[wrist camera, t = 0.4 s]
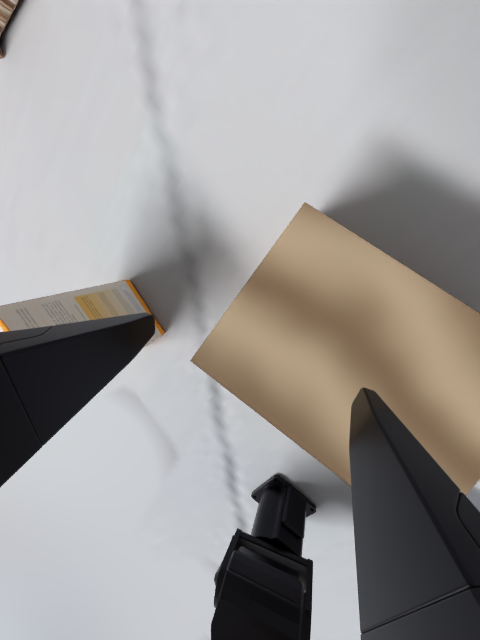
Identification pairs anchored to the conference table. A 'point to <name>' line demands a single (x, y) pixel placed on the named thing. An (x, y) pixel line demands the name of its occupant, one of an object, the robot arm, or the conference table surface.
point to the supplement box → (76, 308)
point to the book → (6, 14)
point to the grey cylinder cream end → (475, 495)
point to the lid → (350, 347)
